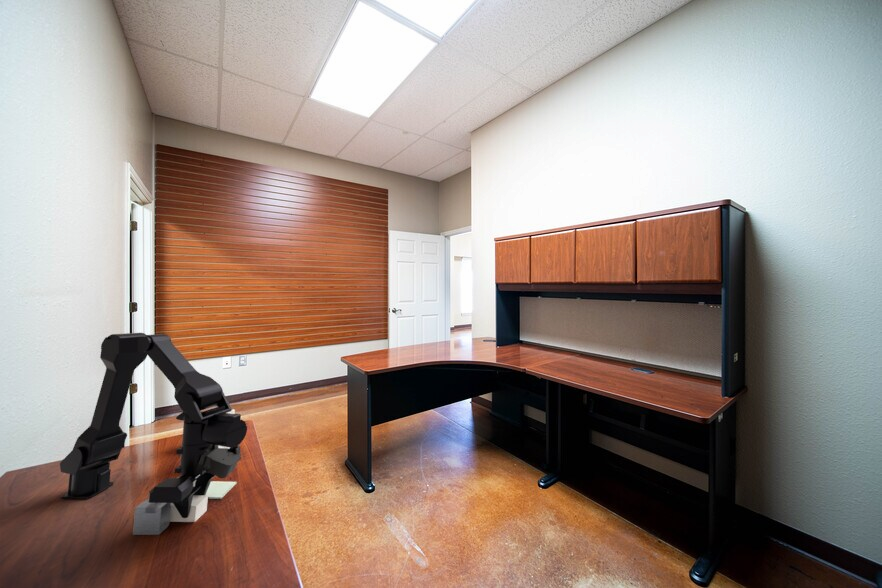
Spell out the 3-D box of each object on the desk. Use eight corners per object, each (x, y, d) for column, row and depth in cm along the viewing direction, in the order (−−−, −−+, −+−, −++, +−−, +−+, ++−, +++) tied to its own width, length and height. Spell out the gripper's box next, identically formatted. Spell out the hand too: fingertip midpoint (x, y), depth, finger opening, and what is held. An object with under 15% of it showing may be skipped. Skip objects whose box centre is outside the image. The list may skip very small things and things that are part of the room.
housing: (132, 534, 66) (135, 507, 66) (176, 499, 78) (178, 476, 78) (158, 534, 66) (161, 507, 67) (198, 499, 78) (199, 477, 79)
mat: (190, 498, 79) (190, 496, 79) (209, 482, 86) (209, 481, 86) (220, 498, 79) (221, 497, 79) (236, 483, 86) (236, 481, 86)
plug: (151, 521, 70) (152, 505, 70) (165, 509, 74) (166, 494, 74) (194, 522, 71) (196, 506, 71) (206, 510, 75) (208, 495, 75)
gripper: (209, 460, 65) (202, 541, 64) (255, 426, 83) (250, 488, 83) (149, 459, 64) (142, 541, 63) (209, 424, 82) (204, 487, 82)
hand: (192, 511), depth 73 cm, fingers closed on plug, 4 cm apart
